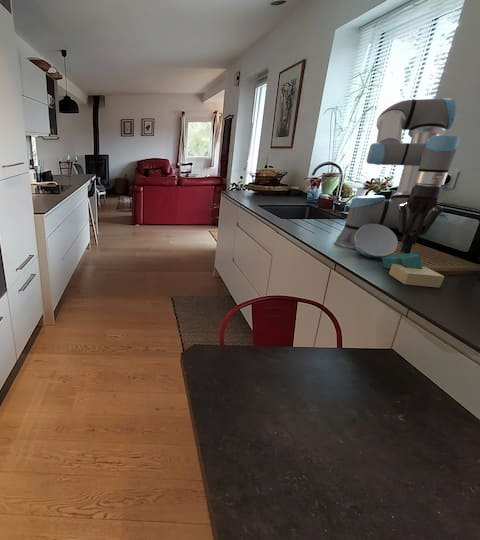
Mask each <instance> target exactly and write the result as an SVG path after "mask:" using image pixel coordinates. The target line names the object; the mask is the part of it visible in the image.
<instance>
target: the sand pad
mask: <svg viewBox="0 0 480 540" xmlns="http://www.w3.org/2000/svg"><path fill="white" fill-rule="evenodd" d="M388 275H390V276H391V277H392V278H394V279H396V280H397V281H398V282H400V283H402V284H403V285H407V286H417V287H426V288H427V287H428V288H430V287H431V288H437V289H440V288H441V286H442V284H443V281H444V279H445V275H443V274H440V273H439V272H437V271H435V270H433V269H431V268H429V267H427V266H424V265H423V267H419V268H405V267H403V266H402V265H400V264H392V266H391V269H389V271H388Z"/></svg>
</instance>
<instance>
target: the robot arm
mask: <svg viewBox="0 0 480 540" xmlns="http://www.w3.org/2000/svg"><path fill="white" fill-rule="evenodd" d="M457 104H458V103H457V101H456V100H455V99H454V98H443V97H440V98H425V99H423V98H422V99H406V100H401V101H399V102H396V103H394V104H392V105H390V106H388V107H387V108H386V109H384V110H383V111H382V112H381V113H380V114H379V116H378V117H377V120H376V128H377V130H378V131H377V137H376V142H374V143H371V144H370V146H369V149H368V153H367V156H366V163H367V164H370V165H377V166H379V165H381V166H383V165H384V166H403V168H402V172H401V176H400V179H399V183H398V186H397V191H396V193H394V194H392V195H391V196H390V199H386V197H385V195H373V194H372V195H359V196H355V197H353V198H352V199H351V201H350V204H349V206H348V212H347V216H346V219H345V223H344V227H343V229H342V231H341V232H340V233H339V235H338V236H337V237H336V239H335V243H334V244H335V245H337V246H339V247H341V248H345V249H349V250H355V251H358V250H357V249H356V247H355V244H354V237H355V234H356V232H357V230H358V229H359V228H360V227H362V226H364V225H367V224H379V225H383V226H385V227H387V228H389V229H391V228H392V229H397V231H398V232H399V233H402V237H401V241H400V242H401V244H402V245H401V247H400V253H405V254H410V253H411V251H412V249H413V245H416V244H417V241H418V238H419V237H421V236H423V235H426V234H427V233H428V232H429V230H430V229H431V227H432V225H433V224H434V223H435V221H436V219H437V218H438V217H439V216H440V214H441V213H443V212H444V211H445V207H442V206H440V205H439V201H438V200H439V198H441V197H440V196H441V194H442V191H443V187H442V186H444V185H445V182H446V179H447V177H448V174H449V171H450V168H451V166H452V163H453V160H454V158H455V155H456V152H457V150H458V149H459V143H460V140H461V137H460V136H458V135H444V134H446V131H448V130H450V129H451V128H452V126H453V125H454V122H455V119H456V116H457V108H458V105H457ZM403 131H408V132H407V134H408V136H409V137H410V143H409V142H402V135H403Z"/></svg>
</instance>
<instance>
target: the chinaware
mask: <svg viewBox="0 0 480 540" xmlns="http://www.w3.org/2000/svg"><path fill="white" fill-rule="evenodd" d="M354 244H355V247H356V249H357V250H356V251H357V252H359V254H361V255H362V256H365V257H366V258H367V257H368V258H372V259H377V258H382V257H386V256H390V255H392V254H393V253H395V251H396V250H397V248H398V244H399V241H398V237H397V235H396V234H395V232H394V231H392V230H391V228H390V227H385V226H383V225H379V224H367V225H364V226H362V227H360V228H359V229H358V230H357V232H356V234H355V237H354Z"/></svg>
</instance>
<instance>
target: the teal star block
mask: <svg viewBox="0 0 480 540" xmlns="http://www.w3.org/2000/svg"><path fill="white" fill-rule="evenodd" d="M381 260H382V263H383V268H384V269H389V270H390V269H391V266H392V264H400V265H402V266H403V267H405V268H415V269H416V268H419V267H423V266H424V265H423V261H422V256H421V253H419V252H410V254H405V253H403V252H400V253H396V254H390V255H387V256H384V257H381Z"/></svg>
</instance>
